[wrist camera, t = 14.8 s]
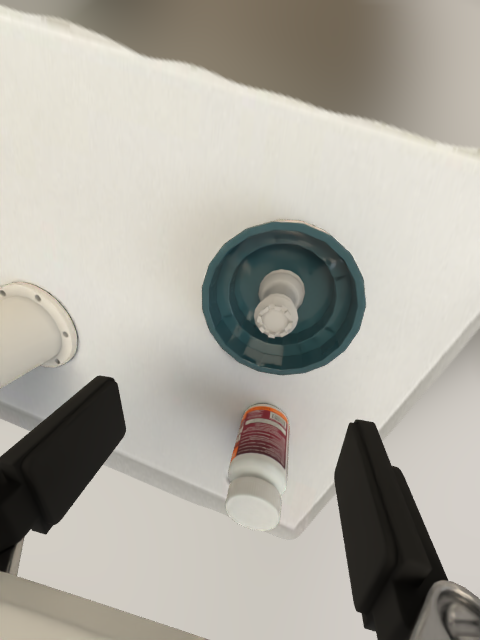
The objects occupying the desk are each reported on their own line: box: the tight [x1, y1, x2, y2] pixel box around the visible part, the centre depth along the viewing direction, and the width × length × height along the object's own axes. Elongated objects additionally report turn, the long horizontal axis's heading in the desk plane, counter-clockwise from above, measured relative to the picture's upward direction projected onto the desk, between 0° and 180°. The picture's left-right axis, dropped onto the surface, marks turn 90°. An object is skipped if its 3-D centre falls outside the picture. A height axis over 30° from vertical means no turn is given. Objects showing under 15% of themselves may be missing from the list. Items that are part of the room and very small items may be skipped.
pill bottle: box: [225, 404, 289, 531], centre depth 28 cm, size 6×6×11 cm
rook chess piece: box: [254, 269, 305, 338], centre depth 21 cm, size 4×4×8 cm
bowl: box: [202, 219, 366, 375], centre depth 23 cm, size 13×13×6 cm
